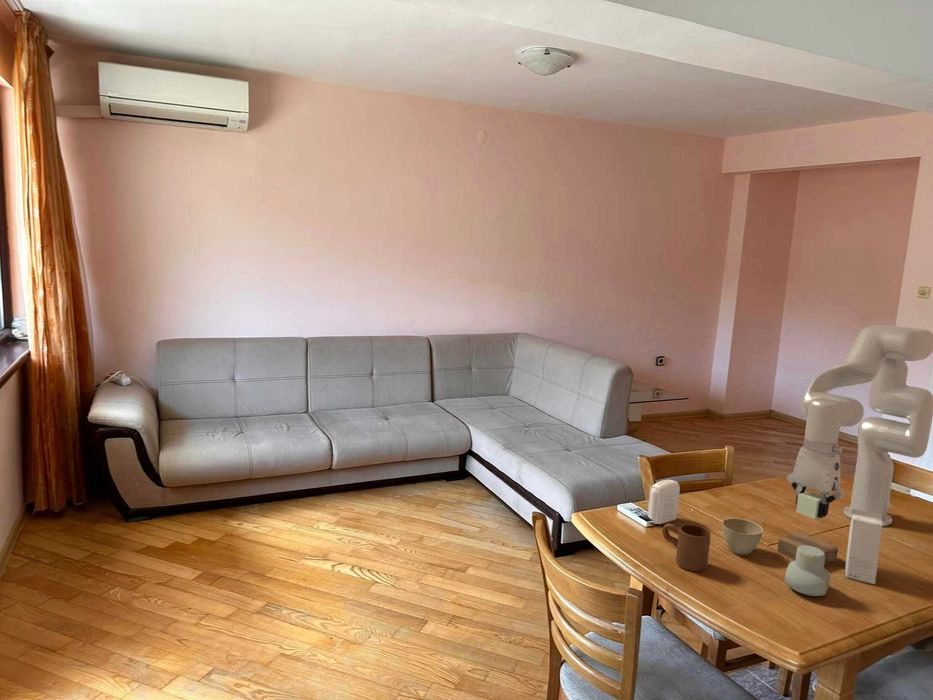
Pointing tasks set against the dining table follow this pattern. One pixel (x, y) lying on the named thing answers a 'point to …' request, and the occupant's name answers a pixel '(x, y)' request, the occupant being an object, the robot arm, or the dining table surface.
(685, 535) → the mug
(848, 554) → the skincare box
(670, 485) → the photo printer
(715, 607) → the dining table surface
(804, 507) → the sage cube
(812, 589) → the air freshener
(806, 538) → the brown flat block
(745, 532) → the flower pot
